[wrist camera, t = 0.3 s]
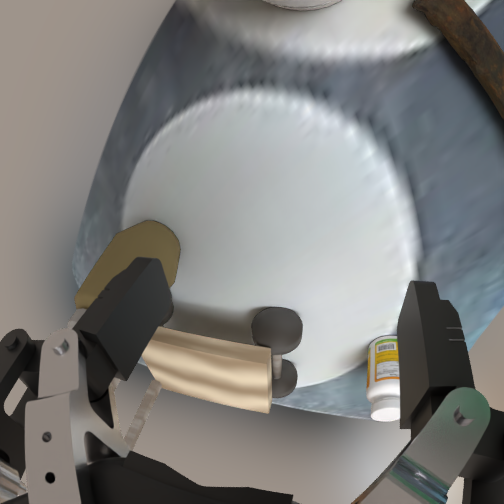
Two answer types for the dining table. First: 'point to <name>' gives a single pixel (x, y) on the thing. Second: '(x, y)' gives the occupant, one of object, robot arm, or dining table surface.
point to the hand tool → (469, 43)
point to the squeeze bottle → (128, 260)
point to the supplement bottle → (384, 379)
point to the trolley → (222, 366)
